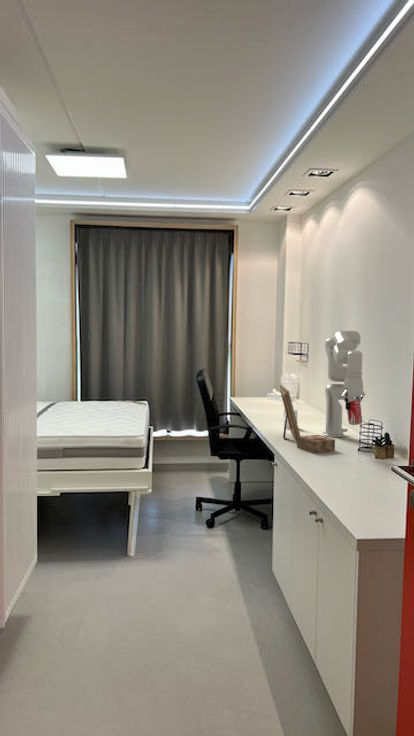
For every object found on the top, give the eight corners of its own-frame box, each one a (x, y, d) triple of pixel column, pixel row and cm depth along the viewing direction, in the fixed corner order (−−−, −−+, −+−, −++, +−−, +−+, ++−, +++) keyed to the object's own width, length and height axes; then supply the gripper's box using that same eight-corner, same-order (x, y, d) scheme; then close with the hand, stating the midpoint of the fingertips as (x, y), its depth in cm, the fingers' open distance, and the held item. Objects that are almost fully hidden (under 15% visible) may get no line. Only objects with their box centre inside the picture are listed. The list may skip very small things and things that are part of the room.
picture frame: (302, 445, 293) (304, 391, 291) (284, 444, 294) (285, 390, 291) (294, 433, 326) (295, 384, 324) (277, 432, 326) (279, 384, 324)
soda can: (363, 421, 281) (360, 397, 280) (361, 425, 274) (359, 400, 273) (349, 422, 284) (346, 398, 282) (347, 425, 277) (345, 401, 276)
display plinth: (317, 445, 293) (318, 433, 292) (334, 450, 280) (335, 438, 280) (297, 447, 287) (297, 436, 286) (313, 453, 274) (313, 441, 274)
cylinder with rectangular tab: (299, 427, 344) (300, 409, 343) (292, 429, 338) (292, 410, 337) (288, 425, 350) (288, 407, 350) (280, 427, 344) (280, 409, 343)
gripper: (361, 373, 283) (360, 407, 285) (336, 375, 276) (335, 409, 277) (371, 375, 277) (370, 409, 278) (346, 376, 269) (344, 411, 271)
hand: (352, 409), depth 278 cm, fingers closed on soda can, 5 cm apart
